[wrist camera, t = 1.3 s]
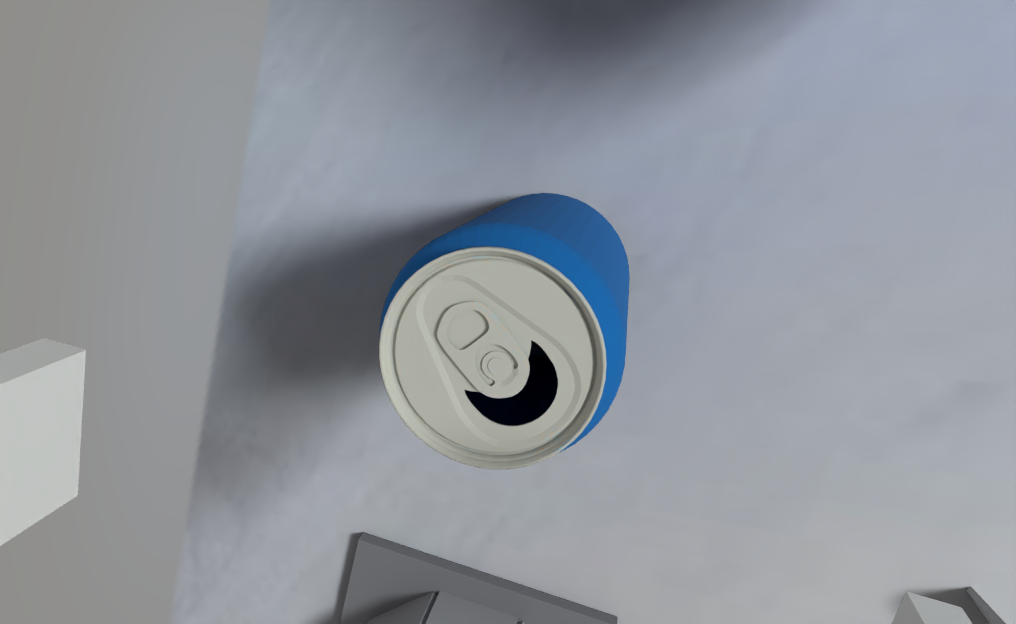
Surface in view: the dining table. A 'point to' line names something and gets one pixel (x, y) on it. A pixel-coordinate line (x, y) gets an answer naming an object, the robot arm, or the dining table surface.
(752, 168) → the dining table surface
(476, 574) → the cup holder
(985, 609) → the bracket
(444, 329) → the beverage can
